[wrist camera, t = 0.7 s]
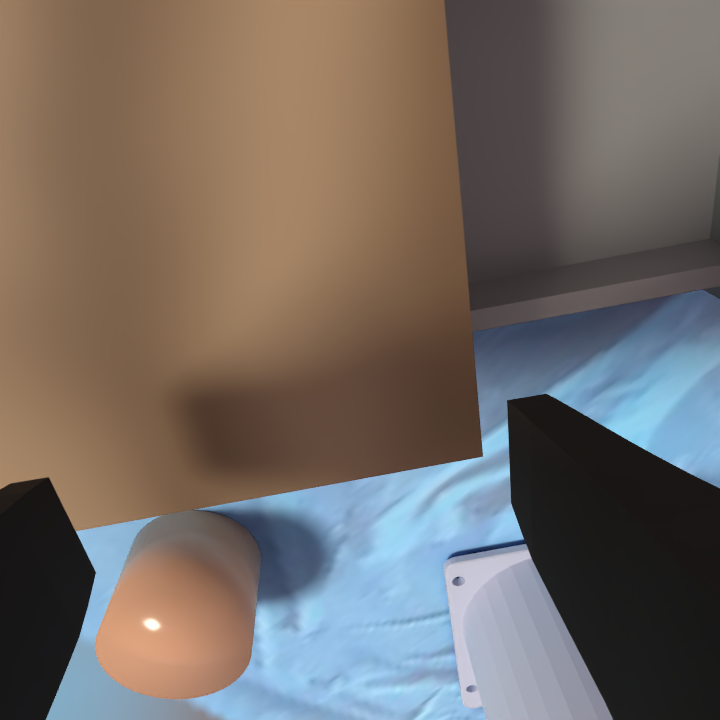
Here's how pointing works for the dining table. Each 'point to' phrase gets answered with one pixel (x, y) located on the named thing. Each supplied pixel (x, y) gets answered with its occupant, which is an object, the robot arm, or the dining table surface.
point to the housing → (228, 250)
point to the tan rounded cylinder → (183, 607)
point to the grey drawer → (585, 152)
